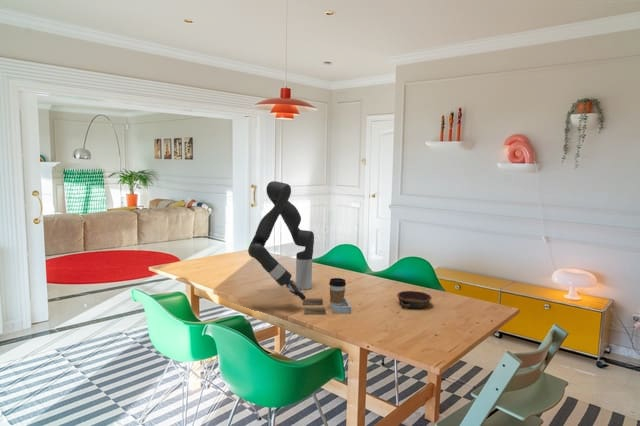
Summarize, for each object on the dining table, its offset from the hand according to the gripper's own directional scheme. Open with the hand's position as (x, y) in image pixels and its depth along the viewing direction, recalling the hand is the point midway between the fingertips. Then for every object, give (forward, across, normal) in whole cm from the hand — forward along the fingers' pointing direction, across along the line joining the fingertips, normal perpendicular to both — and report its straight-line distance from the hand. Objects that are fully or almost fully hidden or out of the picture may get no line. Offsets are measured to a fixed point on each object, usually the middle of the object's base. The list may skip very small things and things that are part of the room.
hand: (304, 298), depth 217 cm
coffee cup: (+15, 0, -8) cm, 17 cm away
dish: (+45, +6, -37) cm, 58 cm away
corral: (+16, 0, -9) cm, 19 cm away
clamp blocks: (+7, 0, 0) cm, 7 cm away
